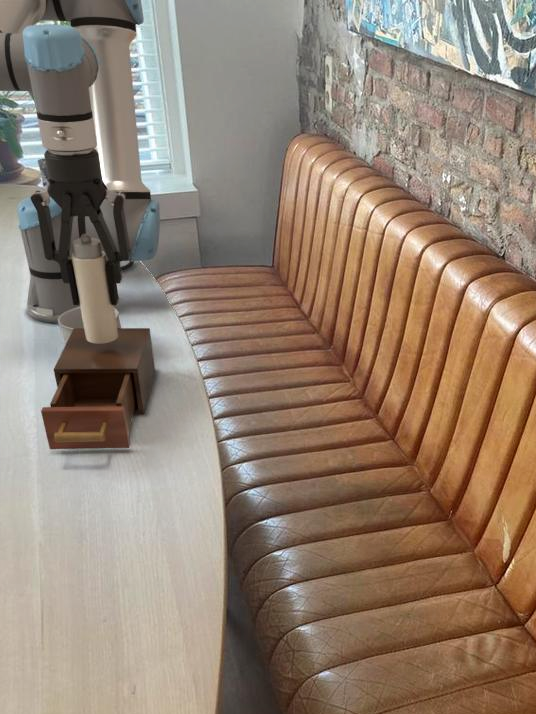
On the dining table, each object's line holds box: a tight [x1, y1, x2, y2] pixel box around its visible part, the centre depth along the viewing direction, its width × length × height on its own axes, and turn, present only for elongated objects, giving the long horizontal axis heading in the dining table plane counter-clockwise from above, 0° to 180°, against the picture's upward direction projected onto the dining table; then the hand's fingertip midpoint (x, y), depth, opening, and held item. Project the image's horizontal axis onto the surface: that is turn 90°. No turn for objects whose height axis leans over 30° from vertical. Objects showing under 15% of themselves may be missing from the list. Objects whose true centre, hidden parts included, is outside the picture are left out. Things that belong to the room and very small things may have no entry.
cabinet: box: [53, 327, 156, 416], centre depth 133 cm, size 16×13×9 cm
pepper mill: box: [71, 234, 118, 344], centre depth 124 cm, size 5×5×17 cm
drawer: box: [40, 373, 137, 450], centre depth 121 cm, size 19×12×7 cm, turn 5°
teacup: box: [57, 307, 122, 346], centre depth 145 cm, size 14×11×8 cm
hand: (96, 301), depth 125 cm, fingers closed on pepper mill, 5 cm apart
